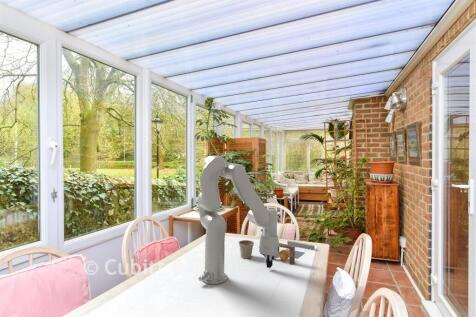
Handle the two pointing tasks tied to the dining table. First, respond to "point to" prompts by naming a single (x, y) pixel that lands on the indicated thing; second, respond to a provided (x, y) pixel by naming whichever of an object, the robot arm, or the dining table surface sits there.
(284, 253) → the ball
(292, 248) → the bridge
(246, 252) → the flower pot
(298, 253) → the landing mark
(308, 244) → the stopper
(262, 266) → the dining table surface
